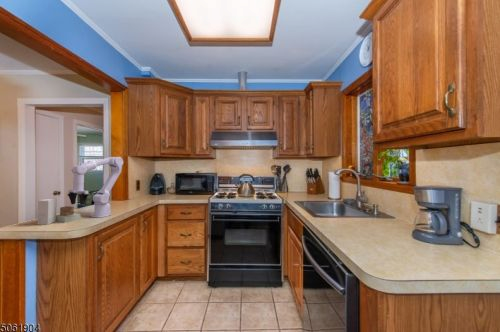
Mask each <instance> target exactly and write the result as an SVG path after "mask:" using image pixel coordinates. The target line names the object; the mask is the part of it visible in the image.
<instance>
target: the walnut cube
mask: <svg viewBox="0 0 500 332" xmlns="http://www.w3.org/2000/svg"><path fill="white" fill-rule="evenodd" d="M74 210H75V207H74V206H69V205H68V206H62V207H60V208H59V215H62V216H68V215H73V214H74V213H75V211H74Z"/></svg>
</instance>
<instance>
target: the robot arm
mask: <svg viewBox="0 0 500 332" xmlns="http://www.w3.org/2000/svg"><path fill="white" fill-rule="evenodd" d="M106 164H107V165H109V167H110V168H111V173H110V174H109V176H108V177H107V179H106V181H105V182H104V184H103V185H102V188H101V189H99V190H98V191H96V193H95V194H93V196H92V201H93V202H94V203H93V204H94V215H91V216H90V217H91V218H100V219H101V218H106V217H108V216H112V214H111V204H110V203H109V200H110V196H111V193H110V191H111V190H112V188H113V187H114V185H115V183H116V181H117V180H118V178H119V176H120V175H121V173H122V172H123V171H122V169H123V165H124V160H123V158H122V157H120V156H109V157H105V158H102V159H100V160H97V161H92V160H88V161H87V162H84V163H83V162H81V163H80V164H76V165H74V166H72V169H71V172H72V175H73V178H72V189H68V190H67V197H68V198H69V201H70V204H71V205H76V201H77V197H79V205H80V206H84V205H85V203H86V200H87V199H88V197H89V190H85V189H84V187H85V186H84V184H85V174H86V173H87V172H91V171H93V170H95V169H97V167H99V166H103V165H106Z"/></svg>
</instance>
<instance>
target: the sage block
mask: <svg viewBox="0 0 500 332" xmlns="http://www.w3.org/2000/svg"><path fill="white" fill-rule="evenodd" d="M81 218H82V217H81V213H75V212H74V214H73V215H68V216H62V215H60V214H56V222H57V223H65V222H66V223H70V222H75V221H79V220H81ZM56 222H55V223H56Z"/></svg>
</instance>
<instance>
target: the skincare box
mask: <svg viewBox="0 0 500 332" xmlns="http://www.w3.org/2000/svg"><path fill="white" fill-rule="evenodd" d="M57 203H58V201H57V198H43V199H40V200H37V226H39V225H41V226H45V225H46V226H49V225H51V224H53V223H56V215H57Z"/></svg>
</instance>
